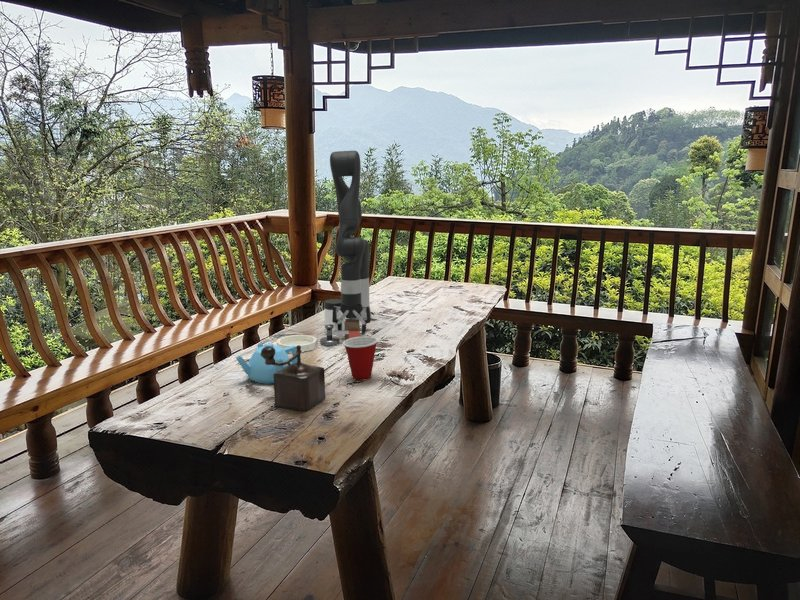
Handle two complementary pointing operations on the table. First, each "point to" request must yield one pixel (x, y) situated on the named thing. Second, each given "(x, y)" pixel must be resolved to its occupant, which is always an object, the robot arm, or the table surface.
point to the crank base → (329, 337)
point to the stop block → (351, 326)
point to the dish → (298, 342)
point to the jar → (329, 313)
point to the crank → (351, 333)
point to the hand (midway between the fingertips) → (352, 333)
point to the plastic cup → (361, 356)
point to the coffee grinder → (296, 382)
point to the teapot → (258, 367)
